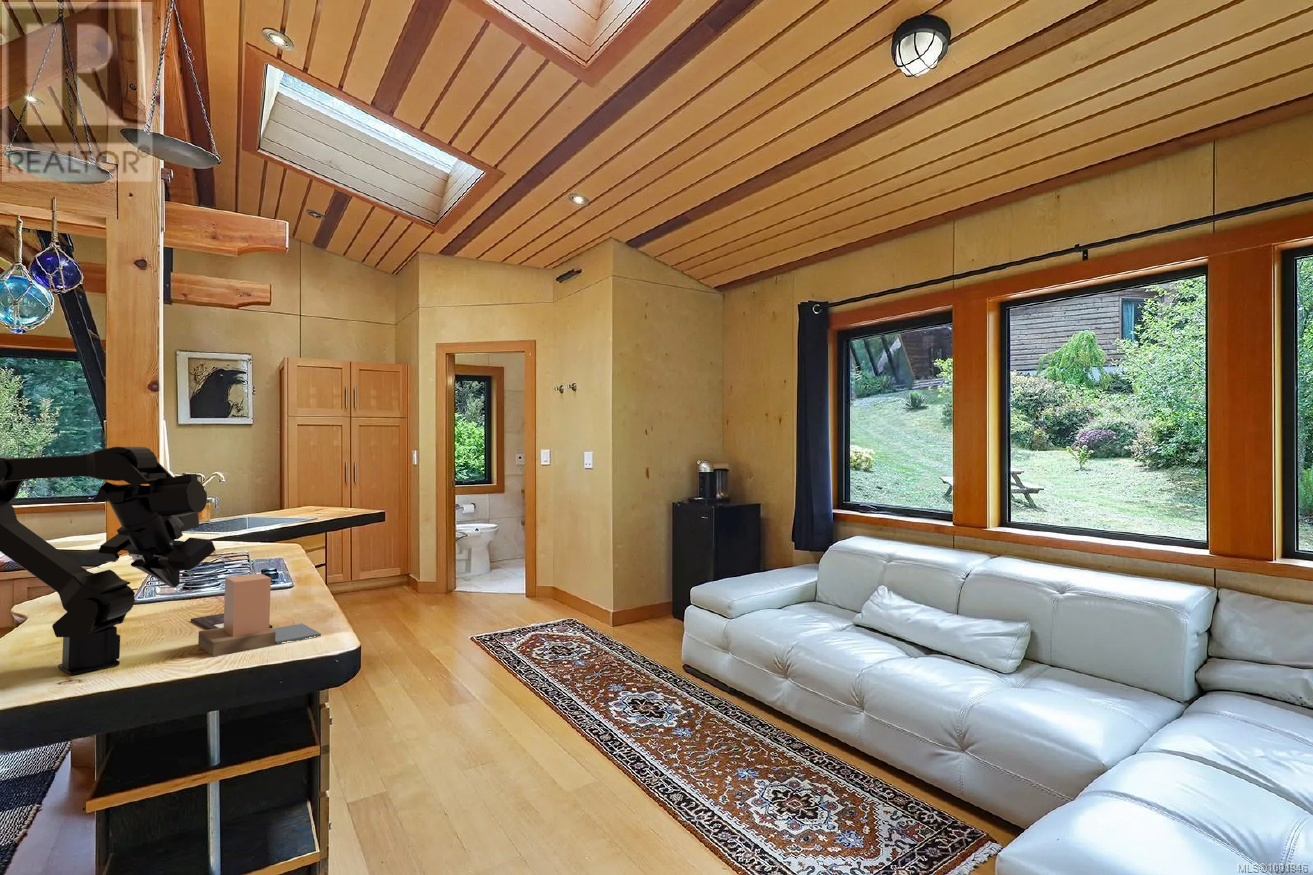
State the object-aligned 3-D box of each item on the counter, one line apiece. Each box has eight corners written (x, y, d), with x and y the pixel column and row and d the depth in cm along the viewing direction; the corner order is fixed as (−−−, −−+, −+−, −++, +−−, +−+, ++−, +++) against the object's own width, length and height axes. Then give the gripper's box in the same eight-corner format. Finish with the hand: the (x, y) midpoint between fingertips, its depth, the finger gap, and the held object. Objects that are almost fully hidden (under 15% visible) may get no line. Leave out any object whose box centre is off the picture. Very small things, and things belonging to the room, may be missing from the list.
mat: (276, 644, 122) (276, 641, 122) (259, 633, 129) (259, 630, 129) (320, 636, 128) (320, 633, 128) (302, 626, 135) (302, 623, 135)
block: (232, 636, 119) (234, 582, 119) (223, 629, 123) (225, 577, 123) (269, 630, 123) (270, 577, 123) (258, 624, 127) (260, 573, 127)
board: (213, 656, 115) (213, 642, 115) (198, 644, 121) (198, 631, 121) (275, 645, 122) (275, 631, 122) (258, 634, 129) (258, 621, 129)
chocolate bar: (238, 610, 144) (272, 625, 133) (238, 615, 144) (272, 630, 133) (190, 618, 137) (222, 635, 126) (190, 623, 137) (222, 639, 126)
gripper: (222, 495, 116) (251, 562, 124) (135, 487, 119) (168, 553, 127) (171, 532, 107) (206, 602, 114) (78, 522, 110) (118, 592, 117)
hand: (175, 585), depth 118 cm, fingers closed
